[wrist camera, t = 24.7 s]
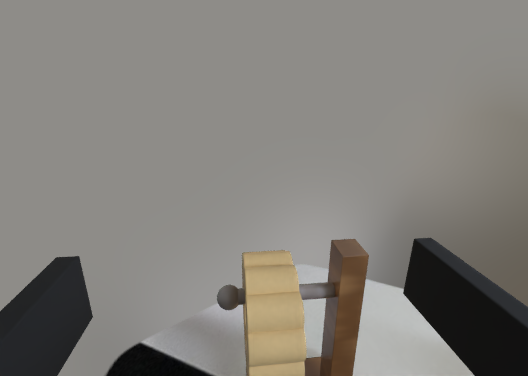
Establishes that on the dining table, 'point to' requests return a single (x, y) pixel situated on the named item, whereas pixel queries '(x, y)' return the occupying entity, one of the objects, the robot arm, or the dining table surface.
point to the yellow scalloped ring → (272, 315)
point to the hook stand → (329, 308)
